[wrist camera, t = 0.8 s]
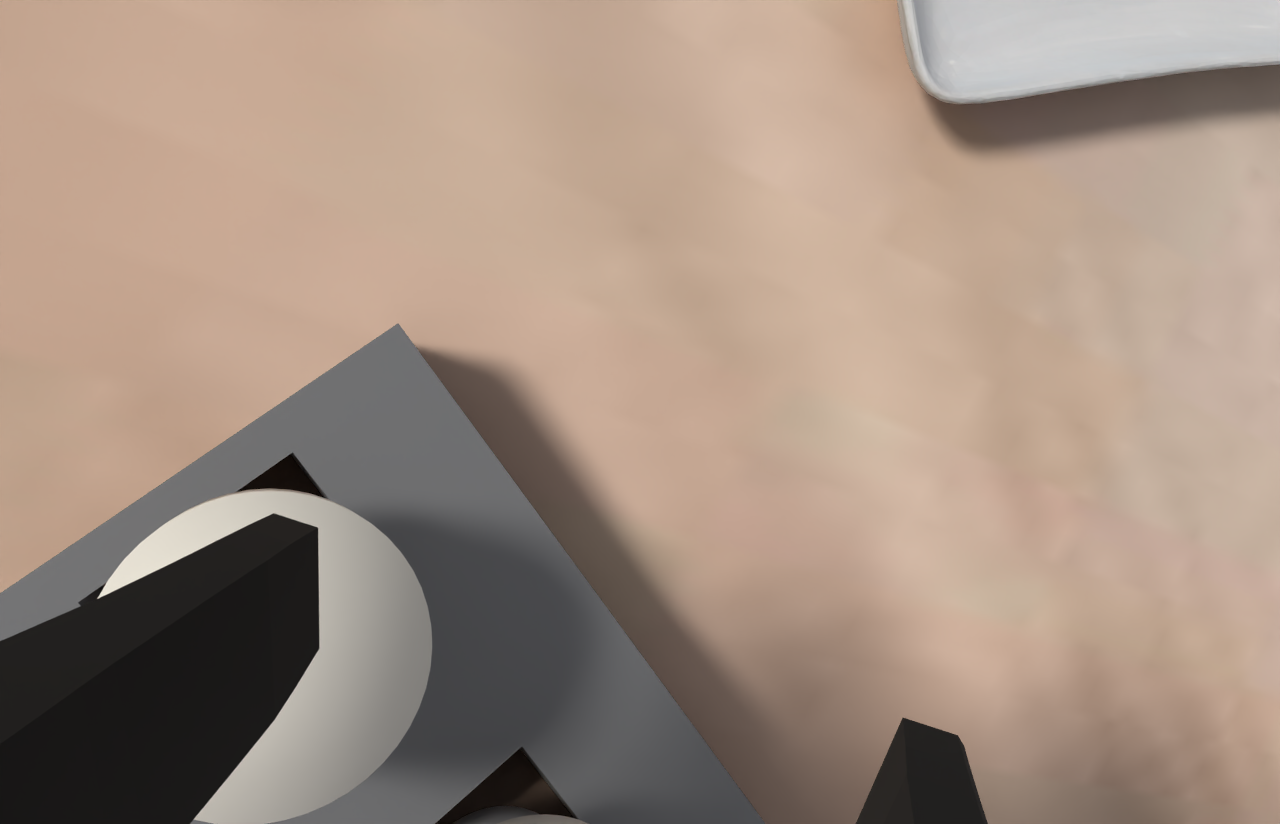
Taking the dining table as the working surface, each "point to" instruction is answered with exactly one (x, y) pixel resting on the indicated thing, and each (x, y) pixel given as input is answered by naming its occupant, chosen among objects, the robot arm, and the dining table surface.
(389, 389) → the mount
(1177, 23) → the salad plate
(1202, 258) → the dining table surface
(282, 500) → the knob
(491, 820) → the knob
